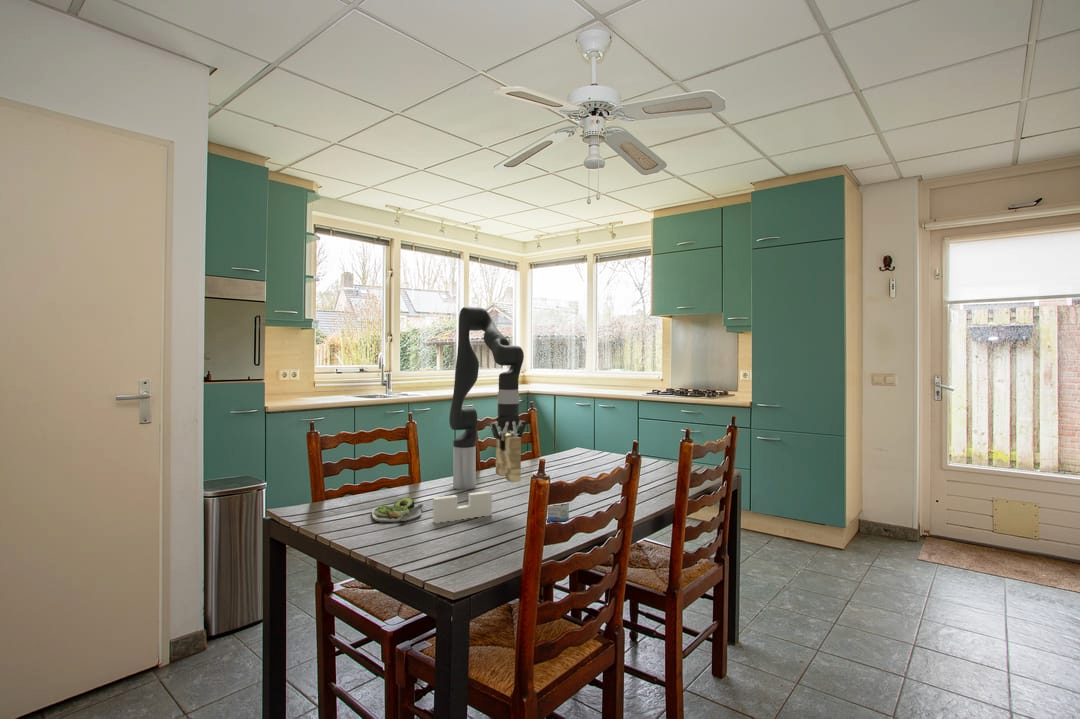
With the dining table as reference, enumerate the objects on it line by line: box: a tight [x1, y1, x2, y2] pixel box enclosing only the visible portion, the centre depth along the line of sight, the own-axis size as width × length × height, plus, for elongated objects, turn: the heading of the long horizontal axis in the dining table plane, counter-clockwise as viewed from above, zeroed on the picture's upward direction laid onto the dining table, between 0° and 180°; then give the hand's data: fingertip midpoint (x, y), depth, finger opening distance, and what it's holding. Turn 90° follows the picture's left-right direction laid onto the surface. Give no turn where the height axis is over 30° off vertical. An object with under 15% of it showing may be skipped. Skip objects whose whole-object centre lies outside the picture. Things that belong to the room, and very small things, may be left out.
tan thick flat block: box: [495, 431, 522, 483], centre depth 193 cm, size 14×4×15 cm, turn 27°
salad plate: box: [371, 497, 424, 523], centre depth 187 cm, size 19×18×5 cm
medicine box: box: [546, 502, 570, 523], centre depth 184 cm, size 8×4×9 cm, turn 99°
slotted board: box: [432, 490, 493, 524], centre depth 185 cm, size 2×20×8 cm, turn 117°
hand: (507, 449), depth 193 cm, fingers closed on tan thick flat block, 3 cm apart
